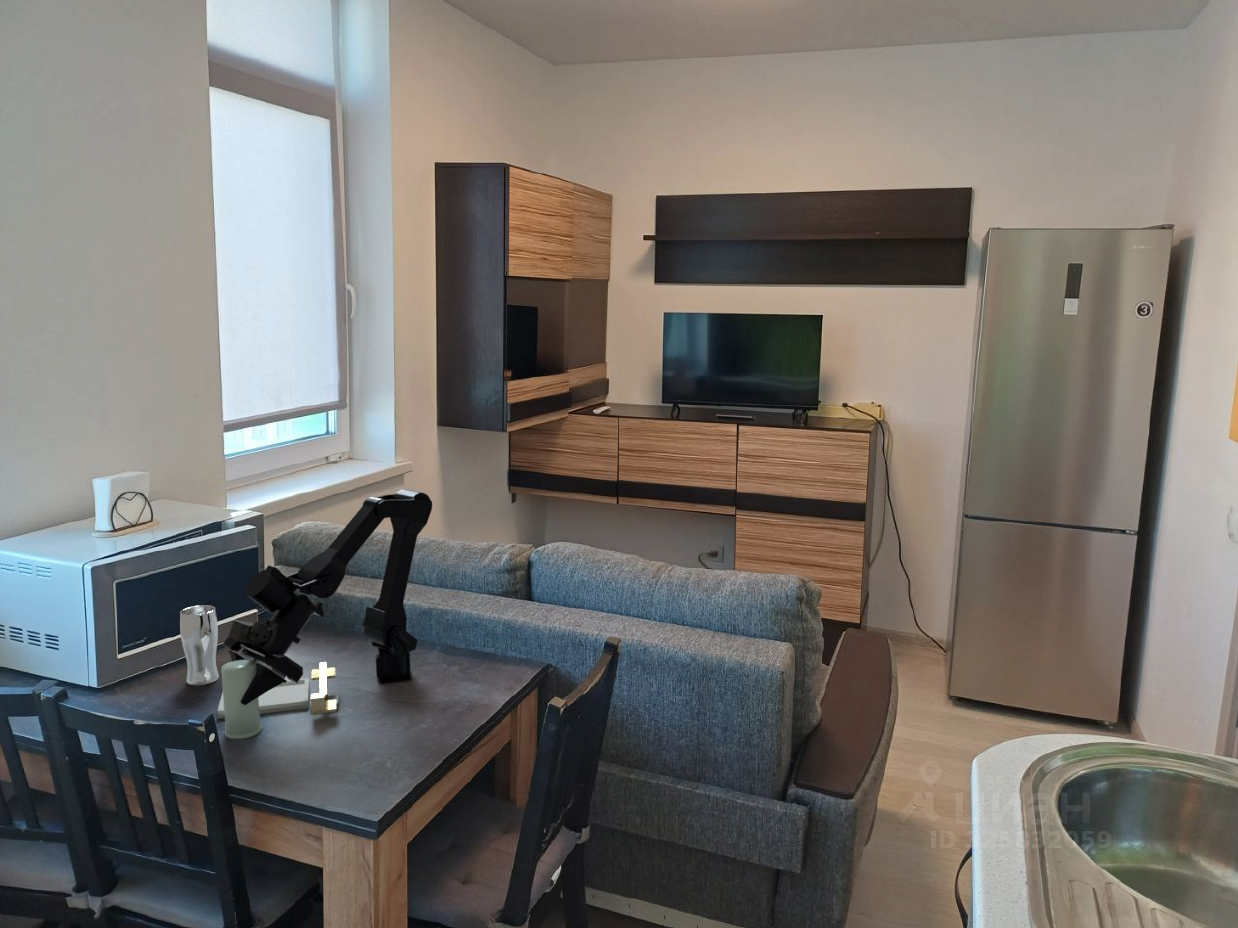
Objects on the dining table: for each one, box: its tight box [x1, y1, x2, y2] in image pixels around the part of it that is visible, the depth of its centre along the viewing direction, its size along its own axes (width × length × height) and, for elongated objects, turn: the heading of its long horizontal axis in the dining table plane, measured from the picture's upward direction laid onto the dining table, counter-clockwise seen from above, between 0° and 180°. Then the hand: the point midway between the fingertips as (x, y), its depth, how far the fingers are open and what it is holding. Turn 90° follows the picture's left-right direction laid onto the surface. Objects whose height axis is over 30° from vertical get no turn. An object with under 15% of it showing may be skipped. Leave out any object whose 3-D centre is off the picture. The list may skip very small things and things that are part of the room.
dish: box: [217, 677, 310, 720], centre depth 178 cm, size 16×12×2 cm
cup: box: [220, 660, 263, 740], centre depth 164 cm, size 6×6×12 cm
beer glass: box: [179, 604, 220, 686], centre depth 187 cm, size 7×7×15 cm
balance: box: [310, 661, 339, 715], centre depth 175 cm, size 5×15×7 cm, turn 18°
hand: (233, 699), depth 163 cm, fingers closed on cup, 6 cm apart
